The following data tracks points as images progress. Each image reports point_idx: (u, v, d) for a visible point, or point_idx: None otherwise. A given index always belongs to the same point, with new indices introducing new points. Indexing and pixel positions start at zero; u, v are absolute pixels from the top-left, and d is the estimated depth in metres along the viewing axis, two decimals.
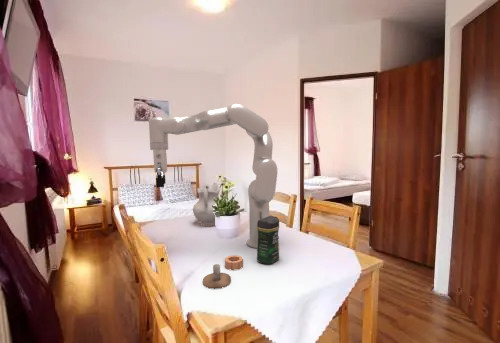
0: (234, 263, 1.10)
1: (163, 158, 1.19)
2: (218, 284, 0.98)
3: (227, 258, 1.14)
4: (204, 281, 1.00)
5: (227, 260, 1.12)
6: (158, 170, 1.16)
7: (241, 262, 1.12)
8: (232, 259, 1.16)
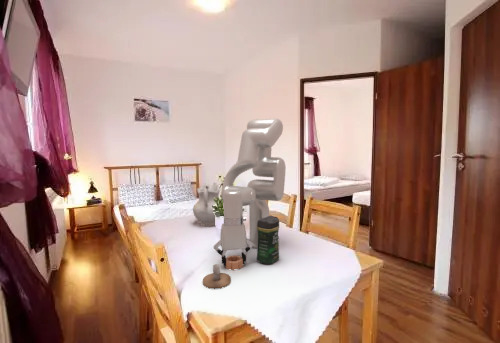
0: (234, 263, 1.10)
1: None
2: (218, 284, 0.98)
3: (227, 258, 1.14)
4: (204, 281, 1.00)
5: (227, 260, 1.12)
6: None
7: (241, 262, 1.12)
8: (232, 259, 1.16)
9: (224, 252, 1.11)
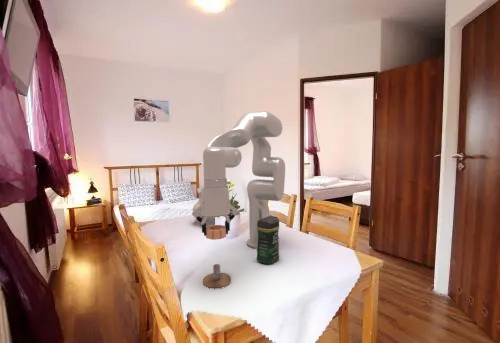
0: (215, 231, 0.96)
1: None
2: (218, 284, 0.98)
3: (208, 227, 1.00)
4: (204, 281, 1.00)
5: (208, 229, 0.98)
6: None
7: (224, 231, 0.98)
8: (214, 229, 1.02)
9: (204, 219, 0.97)
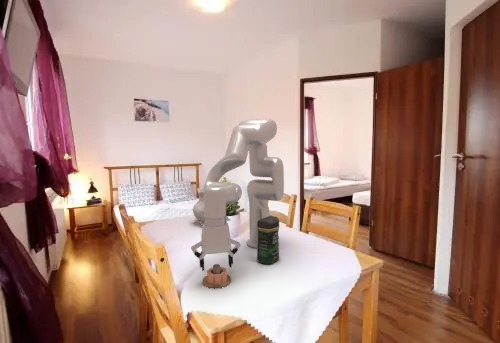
0: (216, 276, 0.98)
1: None
2: (218, 284, 0.98)
3: (209, 270, 1.02)
4: (204, 281, 1.00)
5: (209, 272, 1.00)
6: None
7: (225, 275, 1.00)
8: None
9: (202, 254, 0.98)
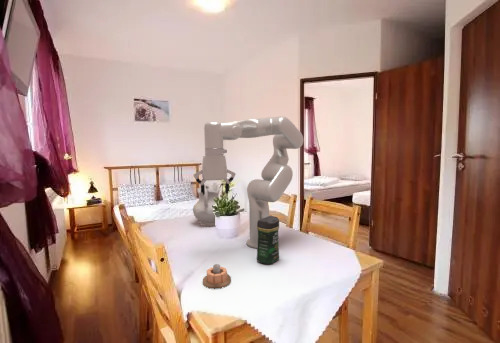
0: (216, 276, 0.98)
1: None
2: (218, 284, 0.98)
3: (209, 270, 1.02)
4: (204, 281, 1.00)
5: (209, 272, 1.00)
6: None
7: (225, 275, 1.00)
8: None
9: (203, 180, 1.15)
